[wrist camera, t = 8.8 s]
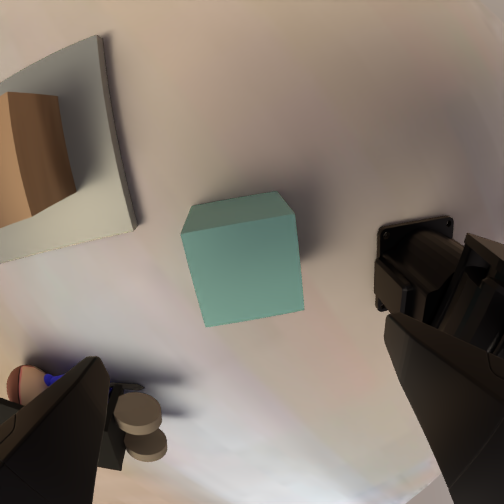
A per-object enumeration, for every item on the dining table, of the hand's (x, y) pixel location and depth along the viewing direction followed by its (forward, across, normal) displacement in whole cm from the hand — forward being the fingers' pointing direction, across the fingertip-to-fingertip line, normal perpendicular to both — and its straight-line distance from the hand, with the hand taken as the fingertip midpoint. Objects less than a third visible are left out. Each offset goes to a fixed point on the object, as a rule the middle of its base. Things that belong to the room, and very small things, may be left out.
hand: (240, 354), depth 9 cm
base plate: (+10, +12, -8) cm, 17 cm away
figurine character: (+11, +16, +12) cm, 22 cm away
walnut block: (+9, +12, -8) cm, 17 cm away
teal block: (+11, 0, 0) cm, 11 cm away
